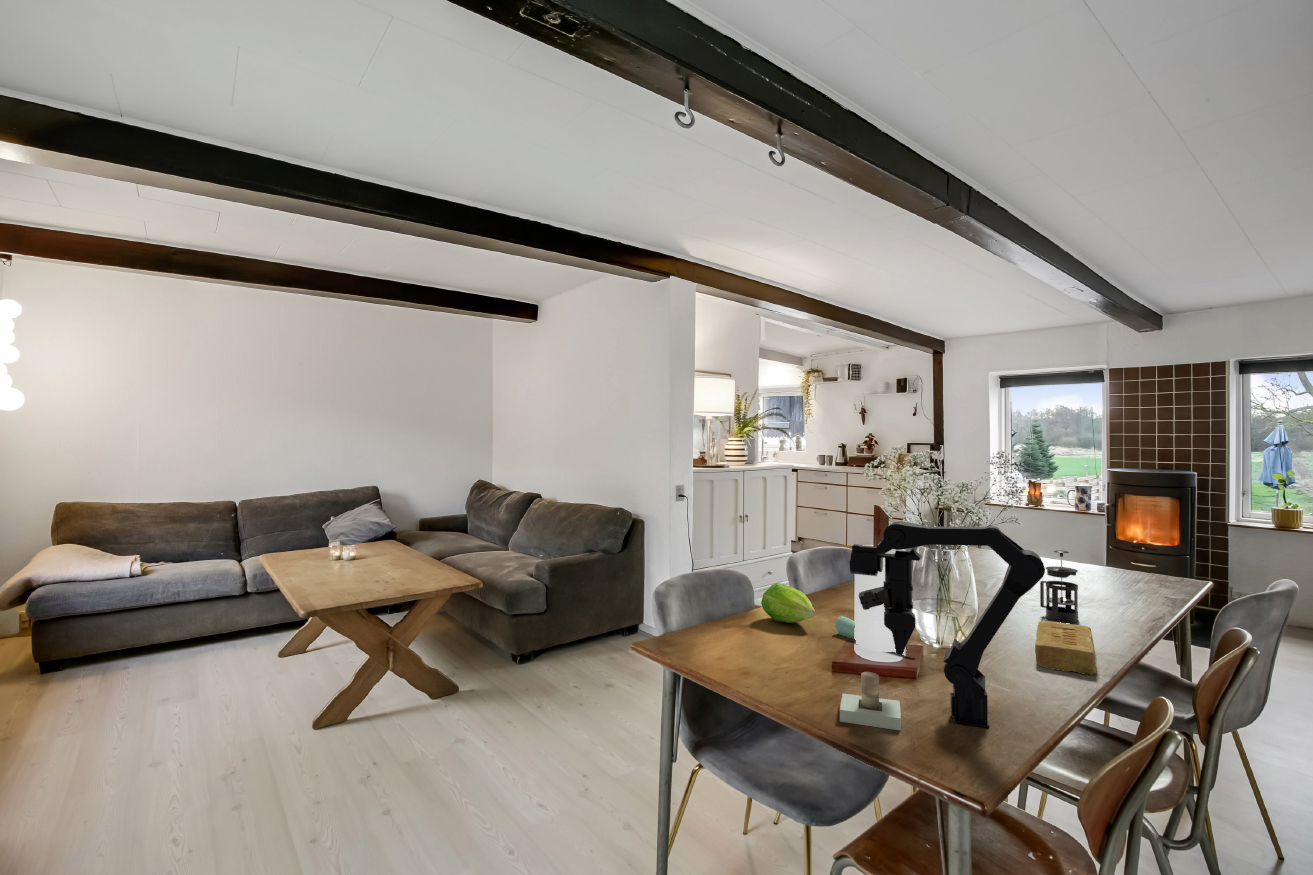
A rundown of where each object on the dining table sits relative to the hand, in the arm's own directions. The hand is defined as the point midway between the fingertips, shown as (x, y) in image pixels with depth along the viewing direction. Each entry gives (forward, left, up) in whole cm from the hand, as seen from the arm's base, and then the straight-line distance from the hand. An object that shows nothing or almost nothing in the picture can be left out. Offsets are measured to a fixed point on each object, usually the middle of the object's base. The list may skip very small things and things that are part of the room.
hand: (898, 647), depth 137 cm
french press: (-52, -91, -13) cm, 106 cm away
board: (+6, +8, -13) cm, 16 cm away
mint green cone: (+5, -42, -14) cm, 45 cm away
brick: (-44, -50, -14) cm, 68 cm away
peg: (+6, +8, -13) cm, 16 cm away
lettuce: (+32, -55, -13) cm, 65 cm away
